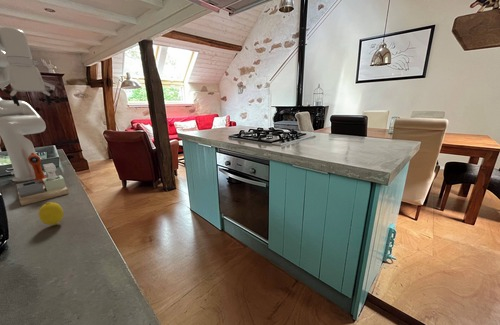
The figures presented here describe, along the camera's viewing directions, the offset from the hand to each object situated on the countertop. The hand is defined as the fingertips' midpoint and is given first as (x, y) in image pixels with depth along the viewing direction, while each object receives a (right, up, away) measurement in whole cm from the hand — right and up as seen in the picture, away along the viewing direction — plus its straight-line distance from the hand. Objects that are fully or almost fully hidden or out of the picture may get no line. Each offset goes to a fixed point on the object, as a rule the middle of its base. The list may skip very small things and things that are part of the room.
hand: (34, 105), depth 93 cm
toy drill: (-5, -35, +9) cm, 37 cm away
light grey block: (+10, -36, 0) cm, 37 cm away
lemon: (+32, -45, -25) cm, 61 cm away
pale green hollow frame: (+10, -36, 0) cm, 37 cm away
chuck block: (+5, -37, -5) cm, 38 cm away
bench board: (+7, -39, -3) cm, 39 cm away
